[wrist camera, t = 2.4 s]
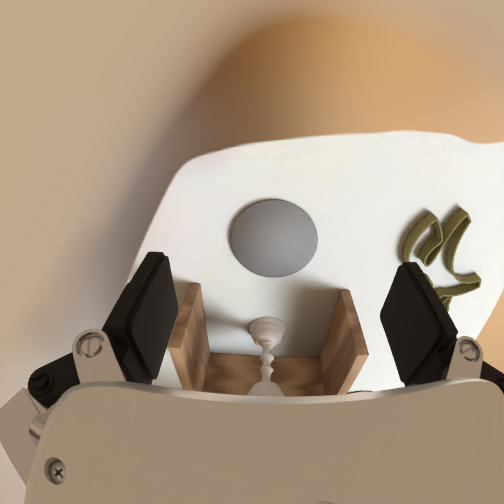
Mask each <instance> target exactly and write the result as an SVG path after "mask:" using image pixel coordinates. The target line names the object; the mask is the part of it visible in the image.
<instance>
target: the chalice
mask: <svg viewBox="0 0 504 504" xmlns="http://www.w3.org/2000/svg"><path fill="white" fill-rule="evenodd" d="M249 332H250V334H251V336H252V338H253V341H254V343H255V344H256V345H258V346H259V347H260V348H263V354H262V355H261V356H260V360H261V361H262V363H263V365H262V367H261V368H260V372H261V374H262V381H261V382H257V383H255V384H254V385H253V387H252V388H251V390H250V391H249V392H248V394H247V395H246V396H271V397H285V396H284V394H283V393H282V391H281V389H280V388H279V386H278V385H277V384H276V383H274V382H271V380H270V376H271V373H272V372H273V369H272V367H271V365H270V364H271V361H272V360H273V359H274V356H273V355H271V349H272V348H274V347H276V346H277V345H278V344H280V342H281V340H282V338H283V335H284V334H285V333H286V326H285V324H284V323H283V322H282V321H281V320H279V319H276V318H273V317H263V318H259V319H256V320H254V321H253V322H252V323H251V324H250V326H249Z"/></svg>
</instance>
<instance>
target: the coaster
mask: <svg viewBox="0 0 504 504" xmlns="http://www.w3.org/2000/svg"><path fill="white" fill-rule="evenodd" d="M317 241H318V238H317V231H316V228H315V225H314V223H313V221H312V219H311V217H310V216H309V215H308V214H307V213H306V212H305V211H304V210H303V209H302V208H300V207H299V206H297V205H295V204H293V203H290V202H287V201H283V200H267V201H262V202H259V203H256V204H254V205H252V206H250V207H249V208H247V209H246V210H245V211H244V212H243V213H242V214H241V215H240V216H239V217H238V218H237V220H236V222H235V224H234V227H233V230H232V235H231V246H232V250H233V252H234V255H235V257H236V258H237V260H238V261H239V262H240V263H241V264H242V265H243V266H244V267H245V268H246V269H248V270H249V271H251V272H253V273H255V274H257V275H260V276H265V277H284V276H288V275H291V274H293V273H296V272H298V271H299V270H301V269H302V268H303V267H305V266H306V265H307V264H308V263H309V262H310V260H311V259H312V257H313V256H314V254H315V251H316V248H317Z"/></svg>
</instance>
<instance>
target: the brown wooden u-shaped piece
mask: <svg viewBox="0 0 504 504" xmlns="http://www.w3.org/2000/svg"><path fill="white" fill-rule="evenodd" d="M168 348H169V351H170V354H171V357H172V360H173V363H174V366H175V369H176V371H177V374H178V377H179V379H180V382H181V385H182V387H183V390H190V391H198V392H207V393H217V394H229V395H244V396H246V395H247V394H248V392H249V391H250V390H251V388H252V387H253V385H254V384H255V383H257V382H261V381H262V374H261V372H260V368H261V367H262V365H263V363H262V361H261V360H260V356H248V355H233V354H220V353H210V349H209V343H208V336H207V330H206V323H205V316H204V309H203V301H202V294H201V286H200V284H195V283H191V284H190V287H189V289H188V292H187V295H186V297H185V300H184V303H183V306H182V309H181V311H180V314H179V317H178V320H177V323H176V326H175V328H174V331H173V334H172V337H171V340H170V343H169V346H168ZM368 355H369V353H368V350H367V346H366V343H365V339H364V336H363V332H362V329H361V325H360V322H359V319H358V316H357V312H356V309H355V306H354V303H353V300H352V297H351V294H350V291H349V290H340V293H339V296H338V300H337V303H336V307H335V310H334V314H333V317H332V321H331V324H330V327H329V330H328V334H327V337H326V340H325V343H324V346H323V349H322V352H321V355H320V357H274V359H273V360H272V361H271V364H270V365H271V367H272V369H273V372H272V373H271V376H270V380H271V382H274V383H276V384H277V385H278V386H279V388H280V389H281V391H282V393H283V394H284V396H285V397H304V396H329V395H344V394H347V392H348V391H349V389H350V387H351V386H352V384H353V382H354V381H355V379H356V377H357V375H358V374H359V372H360V370H361V368H362V367H363V365H364V363H365V361H366V359H367V357H368Z"/></svg>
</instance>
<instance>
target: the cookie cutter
mask: <svg viewBox="0 0 504 504" xmlns="http://www.w3.org/2000/svg"><path fill="white" fill-rule="evenodd" d="M433 223H434V227H435V235H434V236H433V237H431V238H430V239H429V240H428V241H427V242H426V243H425V244H424V245H423V246H422V248H421V249H420V251H419V258H420V260H421V261H422V263H423V264H424V265H425V266H426V267H428V266H430V265H431V264H432V262H433V261H434V260H435V258H436V257H437V255H438V254H439V252H440V251H441V249H442V248H443V246H444V245H445V243H446V242H447V240H448V239H449V237H450V236H451V235H452V236H451V238H450V241H449V244H448V247H447V252H446V263H447V267H448V269H449V271H450V272H451V273H452V275H453V276H454V277H455V279H456V280H458V281H459V282H461V283H465V284H463V285H460V286H457V287H452V288H438V289H436V290H435V292H436V293H437V295H438V297H439V298H440V300H441V302H442V303H443V305H444V307H445V309H446V310H447V312H448V311H449V304H450V302H451V299H452V296H458V295H462V294H465V293H468V292H471V291H473V290H475V289H478V288H480V284H481V279H480V277H479V276H478V275H477V274H476V273H475V274H471V275H458V274H456V273H454V270H453V261H454V255H455V252H456V249H457V246H458V244H459V242H460V240H461V238H462V236H463V234H464V232H465V231H466V229H467V227H468V226H469V224H470V223H471V219H470V217H469V214H468V213H467V212H466V211H464V210H463V209H462V208H460V209H459V210H458V211H457V212H456V213H455V214H454V215H453V216H452V217H451V219H450V220H449V221H448V222H447V224H446V225H445V226H444V228H443V229H442V228H441V224H440V222H439V220H438V218H437V217H436V216H435V215H434V214H433V213H431V212H430V213H429V214H427V215H426V216H424V217H423V218H422V219H421V220H420V221H419V222H418V223H417V224H416V225H415V226H414V227H413V229H412V230H411V231H410V233H409V234H408V236H407V238H406V240H405V243H404V246H403V251H402V256H403V260H404V262H409V258H410V254H411V251H412V248H413V246H414V244H415V243H416V241H417V240H418V238H419V237H420V236H421V234H422V233H423V232H424V231H425V230H426V229H427V228H428V227H429V226H430V225H432V224H433ZM424 274H425V273H424ZM425 276H426V277H427V279H428V280H429V282H430V284H431V285H432V287H433V283H432V281H431V280H430V278H429V277H428V275H426V274H425Z"/></svg>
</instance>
